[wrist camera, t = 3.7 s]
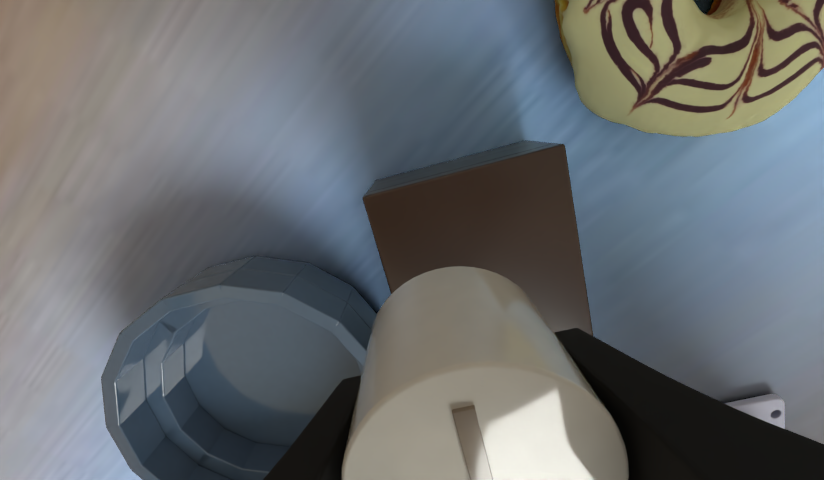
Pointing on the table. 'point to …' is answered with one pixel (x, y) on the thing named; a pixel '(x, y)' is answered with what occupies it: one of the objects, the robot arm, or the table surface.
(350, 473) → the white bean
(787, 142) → the table surface
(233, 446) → the bowl
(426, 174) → the rack
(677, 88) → the decorated donut
